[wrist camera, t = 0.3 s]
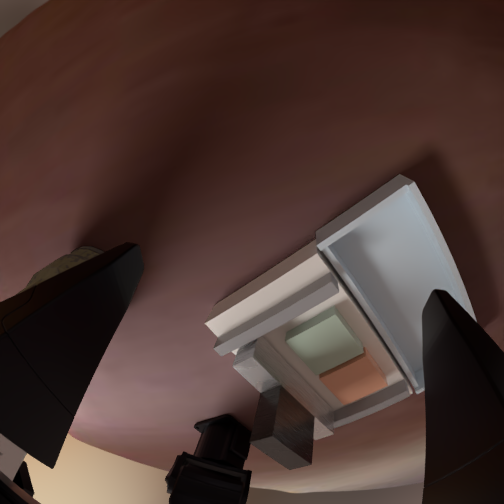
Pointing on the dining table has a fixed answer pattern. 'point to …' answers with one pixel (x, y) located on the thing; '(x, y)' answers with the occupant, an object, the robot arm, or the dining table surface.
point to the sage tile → (324, 341)
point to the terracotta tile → (354, 378)
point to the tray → (394, 265)
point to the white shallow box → (297, 312)
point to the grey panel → (283, 406)
